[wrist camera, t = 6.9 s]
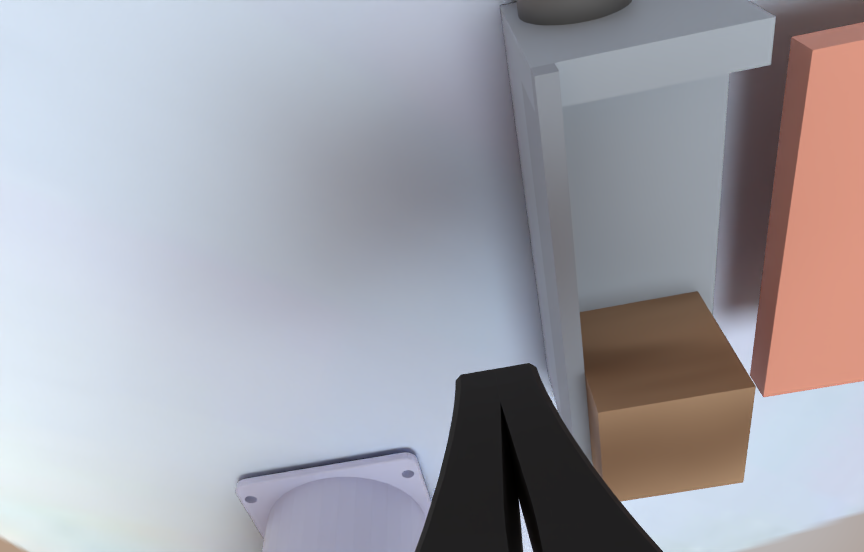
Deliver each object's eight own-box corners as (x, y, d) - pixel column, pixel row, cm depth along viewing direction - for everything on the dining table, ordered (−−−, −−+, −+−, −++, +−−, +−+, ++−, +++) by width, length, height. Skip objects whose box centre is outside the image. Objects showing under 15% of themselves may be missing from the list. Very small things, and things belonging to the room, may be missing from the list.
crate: (693, 382, 22) (743, 482, 19) (574, 402, 23) (604, 503, 20) (697, 291, 20) (755, 386, 17) (566, 314, 20) (598, 412, 17)
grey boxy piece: (676, 371, 26) (733, 489, 22) (550, 393, 27) (581, 513, 22) (689, -86, 17) (795, -42, 12) (493, -42, 17) (528, 15, 13)
